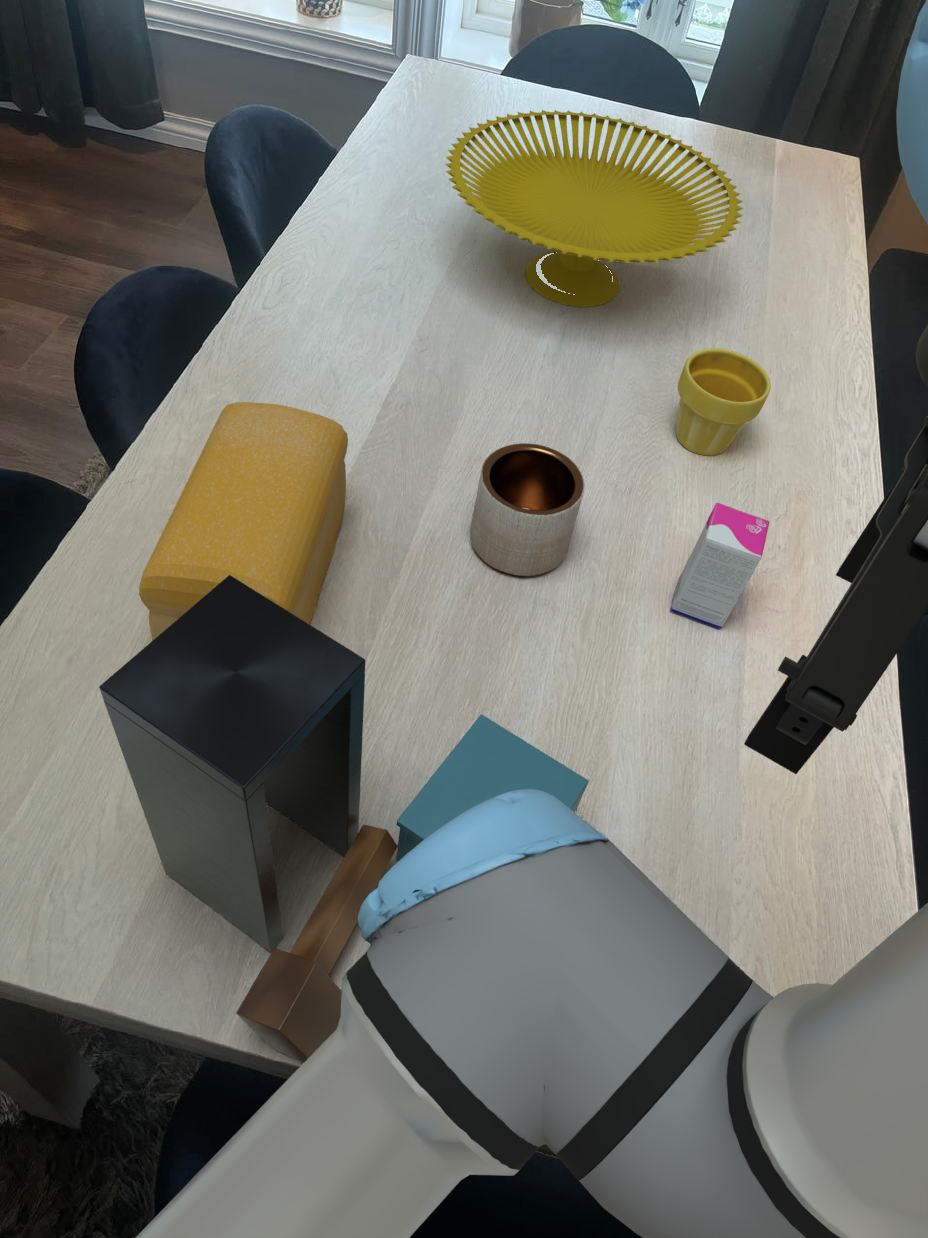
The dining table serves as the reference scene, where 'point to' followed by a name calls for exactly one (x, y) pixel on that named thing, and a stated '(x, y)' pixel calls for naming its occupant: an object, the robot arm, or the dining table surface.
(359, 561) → the dining table surface
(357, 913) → the mallet
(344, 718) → the black arch block
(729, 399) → the flower pot
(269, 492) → the bread
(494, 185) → the cake stand
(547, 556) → the planter
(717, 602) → the supplement box
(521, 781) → the lid
